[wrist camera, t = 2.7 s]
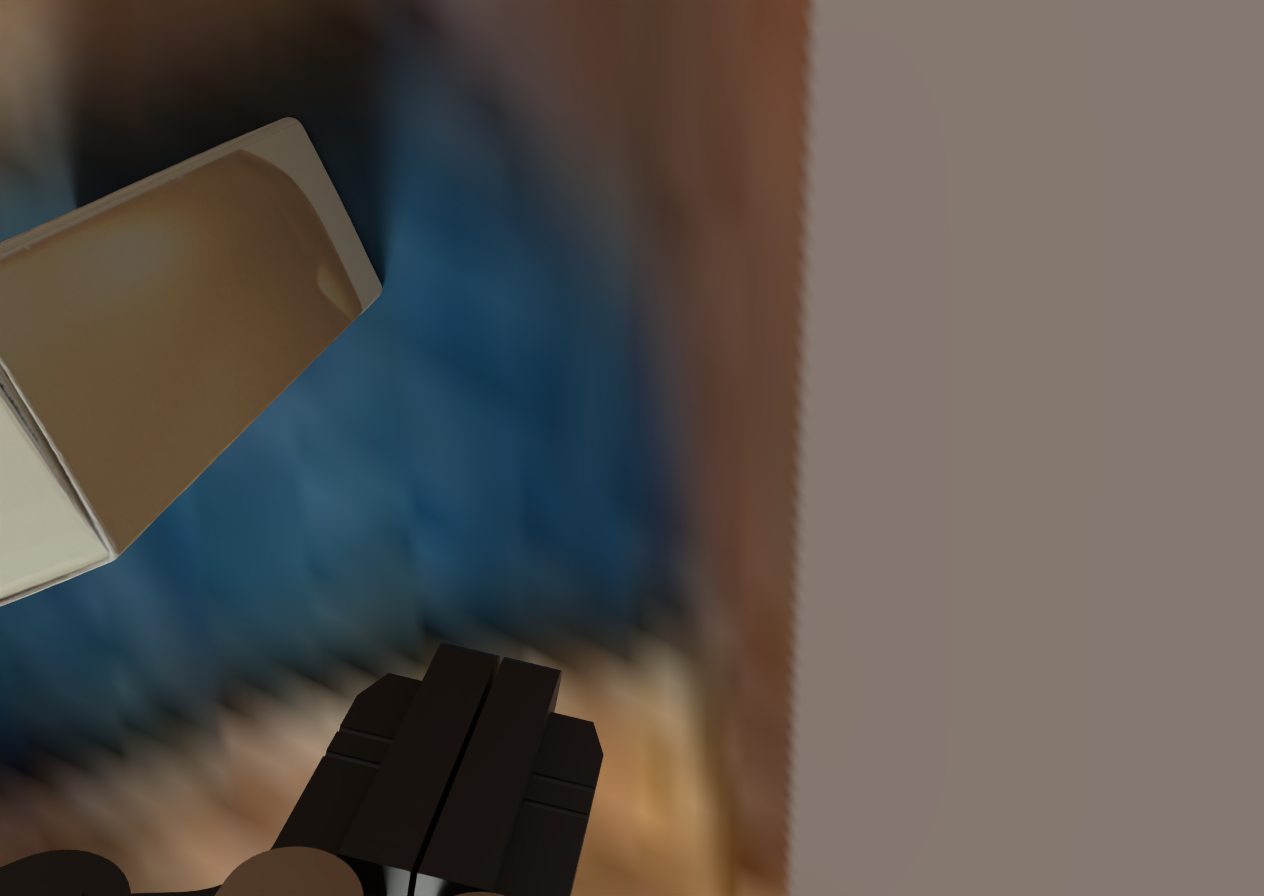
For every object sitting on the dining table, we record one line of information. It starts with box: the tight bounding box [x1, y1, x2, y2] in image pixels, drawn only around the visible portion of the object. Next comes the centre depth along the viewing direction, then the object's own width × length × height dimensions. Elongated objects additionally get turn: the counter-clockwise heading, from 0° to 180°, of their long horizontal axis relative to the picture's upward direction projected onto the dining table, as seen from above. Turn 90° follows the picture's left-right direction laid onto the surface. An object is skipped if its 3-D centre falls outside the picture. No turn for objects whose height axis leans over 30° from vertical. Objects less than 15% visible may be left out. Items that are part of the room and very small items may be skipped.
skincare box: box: [0, 117, 382, 607], centre depth 21 cm, size 6×4×12 cm
